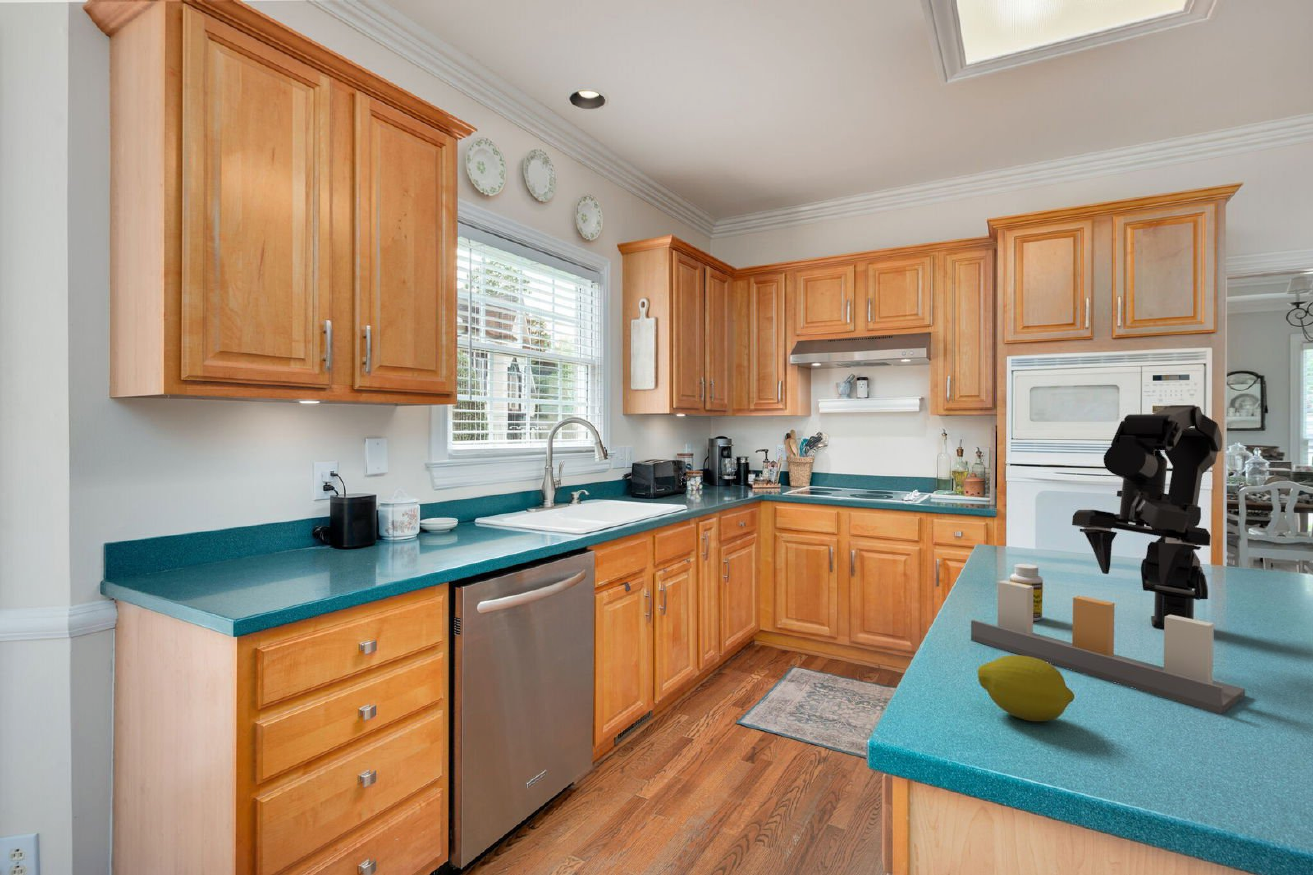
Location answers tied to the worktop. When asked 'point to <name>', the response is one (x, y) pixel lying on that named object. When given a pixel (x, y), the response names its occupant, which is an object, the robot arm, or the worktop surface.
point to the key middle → (1093, 625)
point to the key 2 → (1188, 648)
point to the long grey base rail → (1111, 668)
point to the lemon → (1026, 687)
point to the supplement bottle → (1030, 577)
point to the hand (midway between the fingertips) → (1134, 578)
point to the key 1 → (1015, 607)
